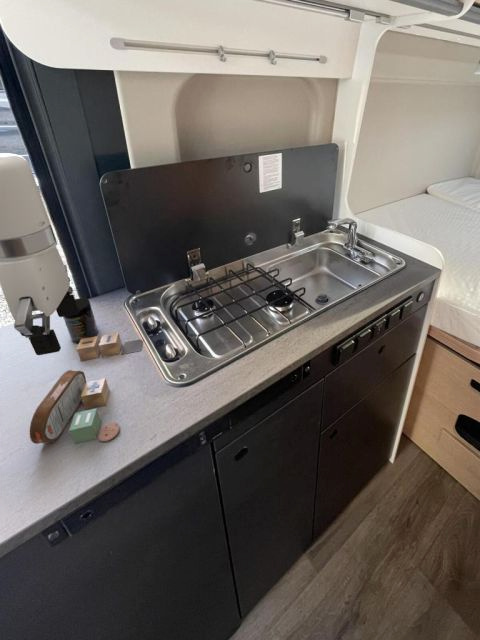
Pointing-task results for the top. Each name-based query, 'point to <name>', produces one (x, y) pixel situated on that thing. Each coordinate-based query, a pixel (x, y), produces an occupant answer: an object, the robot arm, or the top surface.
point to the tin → (57, 407)
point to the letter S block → (85, 426)
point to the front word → (95, 393)
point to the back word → (106, 346)
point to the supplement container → (81, 322)
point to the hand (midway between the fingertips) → (60, 332)
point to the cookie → (108, 431)
